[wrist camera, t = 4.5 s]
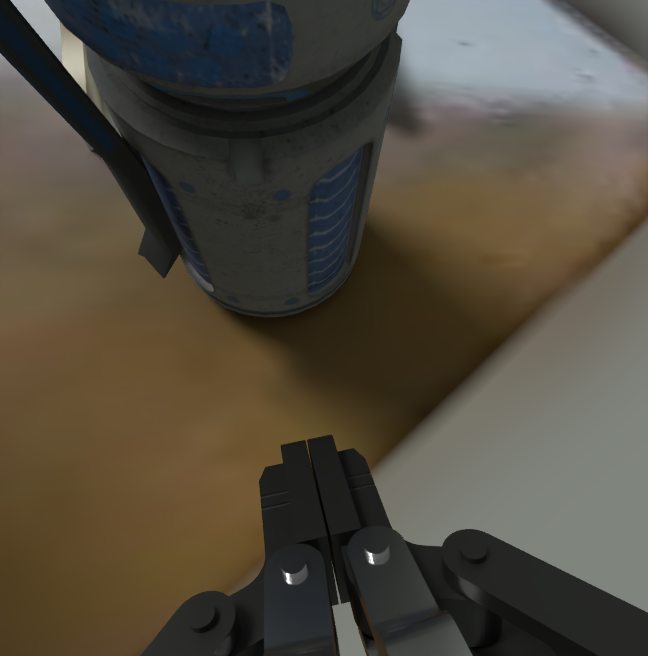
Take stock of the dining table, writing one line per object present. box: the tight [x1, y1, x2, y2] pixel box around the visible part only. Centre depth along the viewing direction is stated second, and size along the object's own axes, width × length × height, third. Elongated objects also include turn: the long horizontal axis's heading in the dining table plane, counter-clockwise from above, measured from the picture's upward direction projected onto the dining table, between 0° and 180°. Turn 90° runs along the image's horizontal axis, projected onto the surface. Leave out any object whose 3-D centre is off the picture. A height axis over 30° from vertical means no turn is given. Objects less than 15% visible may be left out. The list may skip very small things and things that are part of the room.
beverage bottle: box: [0, 0, 410, 318], centre depth 18 cm, size 10×13×25 cm
